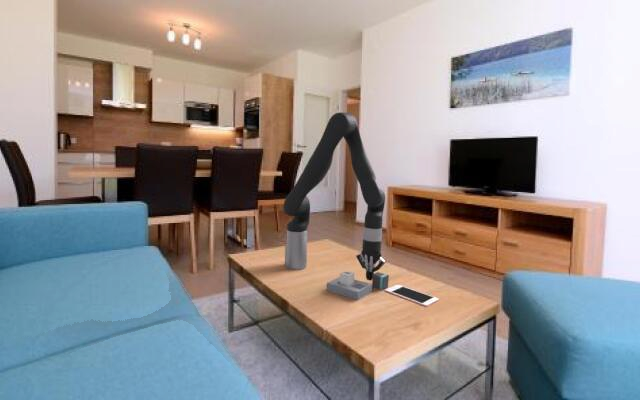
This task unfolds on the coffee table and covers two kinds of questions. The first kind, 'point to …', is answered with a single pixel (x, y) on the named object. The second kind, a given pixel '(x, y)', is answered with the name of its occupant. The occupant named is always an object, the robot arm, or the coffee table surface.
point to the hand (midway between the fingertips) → (369, 279)
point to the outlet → (350, 288)
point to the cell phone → (412, 295)
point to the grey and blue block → (380, 280)
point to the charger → (346, 278)
